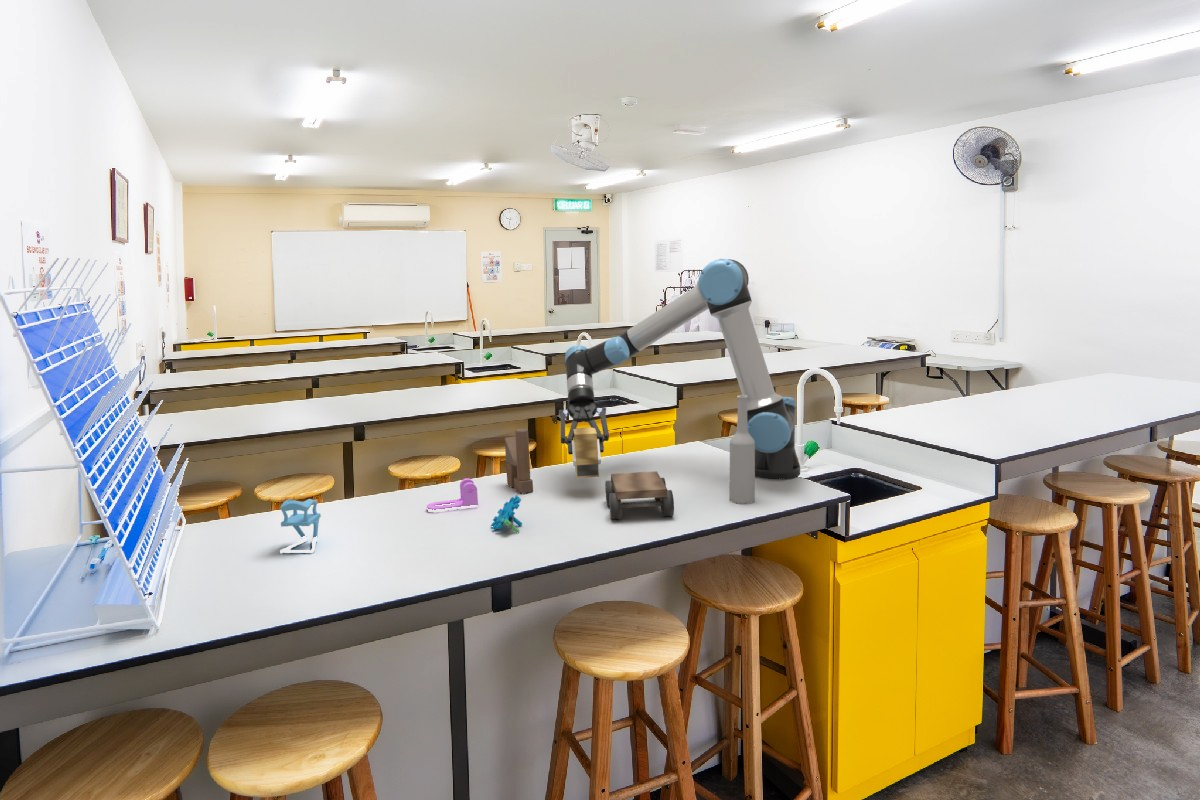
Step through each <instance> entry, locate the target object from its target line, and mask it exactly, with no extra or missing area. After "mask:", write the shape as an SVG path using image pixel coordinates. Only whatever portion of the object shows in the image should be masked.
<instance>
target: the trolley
mask: <svg viewBox="0 0 1200 800" xmlns="http://www.w3.org/2000/svg"><path fill="white" fill-rule="evenodd" d="M604 484H605V487H604V489H605V501H606V505H607V506H609V514H610V515H609V516H610V520H619V519H621V518H622V513H623V512H622V509H626V508H628V509H630V508H631V509H632V508H645V507H646V508H647V507H660V512H661V516H662V517H672V516H674V513H675V501H674V494H673V491H672V490H671V489H668V488H667V483H666V480H665V477H661V476H660V474H659V472H658V471H640V472H639V471H638V472H621V473H610V480H605V483H604ZM634 499H635V500H637V499H638V500H639V499H654V501H636V502H635V501H633V502H622V500H634Z"/></svg>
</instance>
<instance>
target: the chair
mask: <svg viewBox="0 0 1200 800" xmlns="http://www.w3.org/2000/svg"><path fill="white" fill-rule="evenodd" d="M312 505H313V507H312ZM317 505H318V500H317V499H312V498H307V499H306V500H305V501H299V500H296V499H289V498H288V499H286V500H285V501H283V502H282V503H281V505H280V511H281V512H282V514H283V517H284V518H283V521H281V522H280V527H281V528H283V527H293V528H294V529H295V531H296V532H297V534H298V535H299V536H300V538H301V537H303V536H305V535H306V534H305V532H304V531H303V529H302V528H301V527H309V526H311V525H313V533H312V538H313V537H316V536H317V537H318V534H319V523H320V519H321V517H322V515H321V513H320V512H317ZM311 507H312V513H308V511H309V509H310V508H311ZM288 511H292V512H293V513H292V514H291V515H290V516H289V515H288V513H287V512H288ZM298 511H302V512H303V513H298Z"/></svg>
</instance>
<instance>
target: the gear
mask: <svg viewBox="0 0 1200 800" xmlns="http://www.w3.org/2000/svg"><path fill="white" fill-rule="evenodd" d="M521 501H522V498H520V497H519V496H518V495H515V496H511V497H510V498H509V501H506V502H505V503H504V504H503V508H500V509H499V510H498V511H497V514H498V516H497V515H496V516H494V517H493V518H492V523H491V525H490V527H491V526H493V527H491V528H492V529H493V530H494V531H495V530H496V529H497V530H500V529H502V528H503V525H506V527H507V529H512V530H513V531H516V532H515V533H517V532H518V533H520V530H519V529H518V528H517V527H516V526H514V523H515V524H516V525H519V526H518V527H521V526H522V525H523V522H521V521H520V520H519V519H518V518H517V517H516V516H515V514H516V512H515V511H514V510H518V509H519V507H520V506H521V505H520V503H521ZM520 525H521V526H520ZM497 530H496V531H497Z"/></svg>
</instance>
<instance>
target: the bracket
mask: <svg viewBox="0 0 1200 800" xmlns="http://www.w3.org/2000/svg"><path fill="white" fill-rule="evenodd" d="M459 490H460V491H459V493H460V498H458V499H451V500H443V501H435V502H430V503H429V504H427V505H426V509H427V508H428V509H432V510H433V509H434V510H436V509H445V508H452V507H461V506H470V505H478V506H479V500H478V498H479V497H478V496H479V495H478V488H477V486H476V484H475V483H474V481H473V480H472V479H471V478H469V477H468V478H467V477H466V478H465V477H464V478H463V479H462V480H461V481H460V483H459ZM450 503H455V504H451V505H443V506H435V505H442V504H450Z"/></svg>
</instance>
